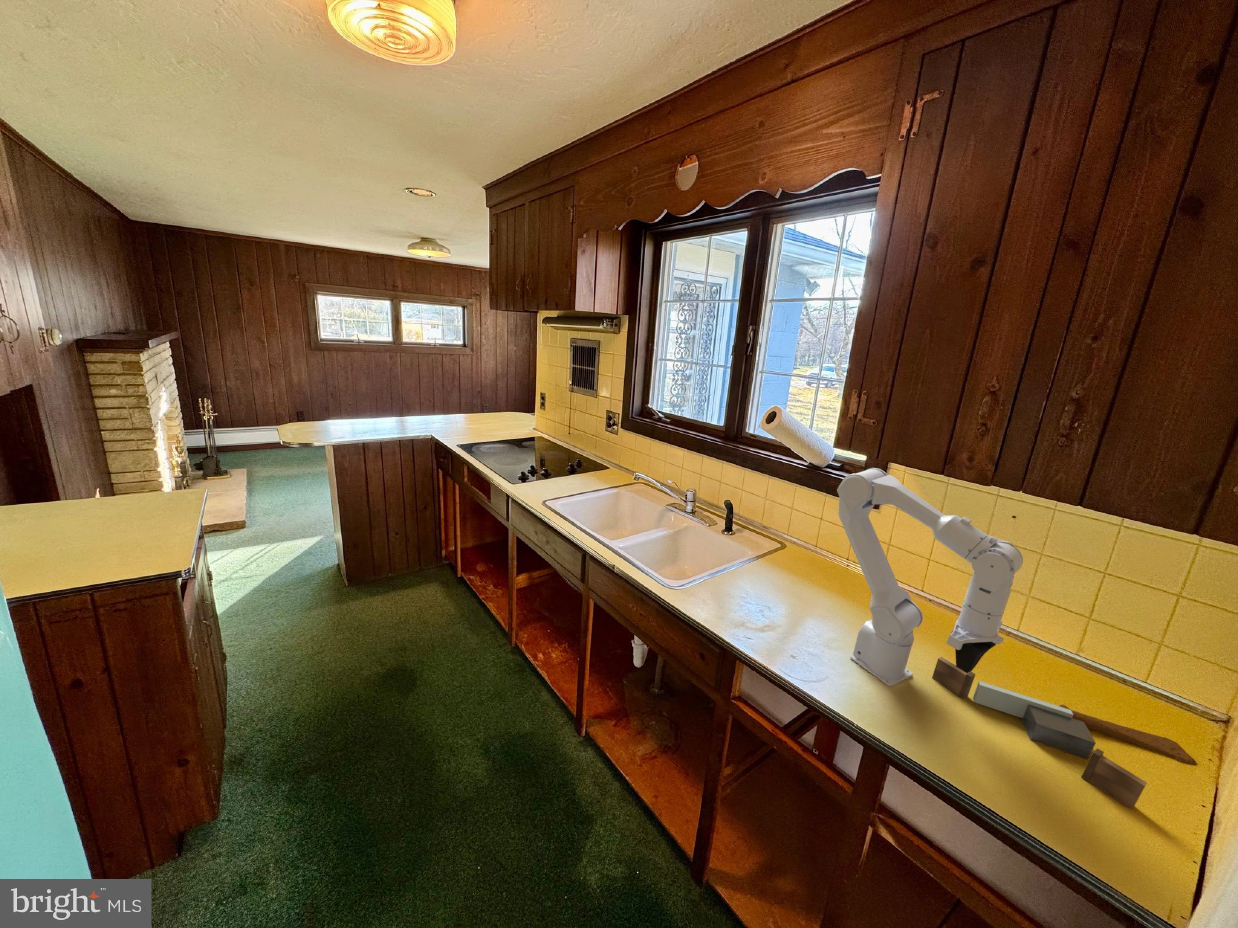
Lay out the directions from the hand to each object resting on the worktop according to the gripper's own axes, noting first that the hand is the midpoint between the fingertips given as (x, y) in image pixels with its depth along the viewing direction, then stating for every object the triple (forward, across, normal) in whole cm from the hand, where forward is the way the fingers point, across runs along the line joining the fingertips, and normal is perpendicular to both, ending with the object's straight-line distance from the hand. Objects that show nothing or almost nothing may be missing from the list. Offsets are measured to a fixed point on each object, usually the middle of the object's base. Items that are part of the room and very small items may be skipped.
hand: (963, 668), depth 87 cm
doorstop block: (+10, +10, -12) cm, 19 cm away
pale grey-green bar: (+9, +11, -6) cm, 15 cm away
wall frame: (+10, +6, -9) cm, 14 cm away
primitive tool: (+10, +24, -17) cm, 31 cm away
